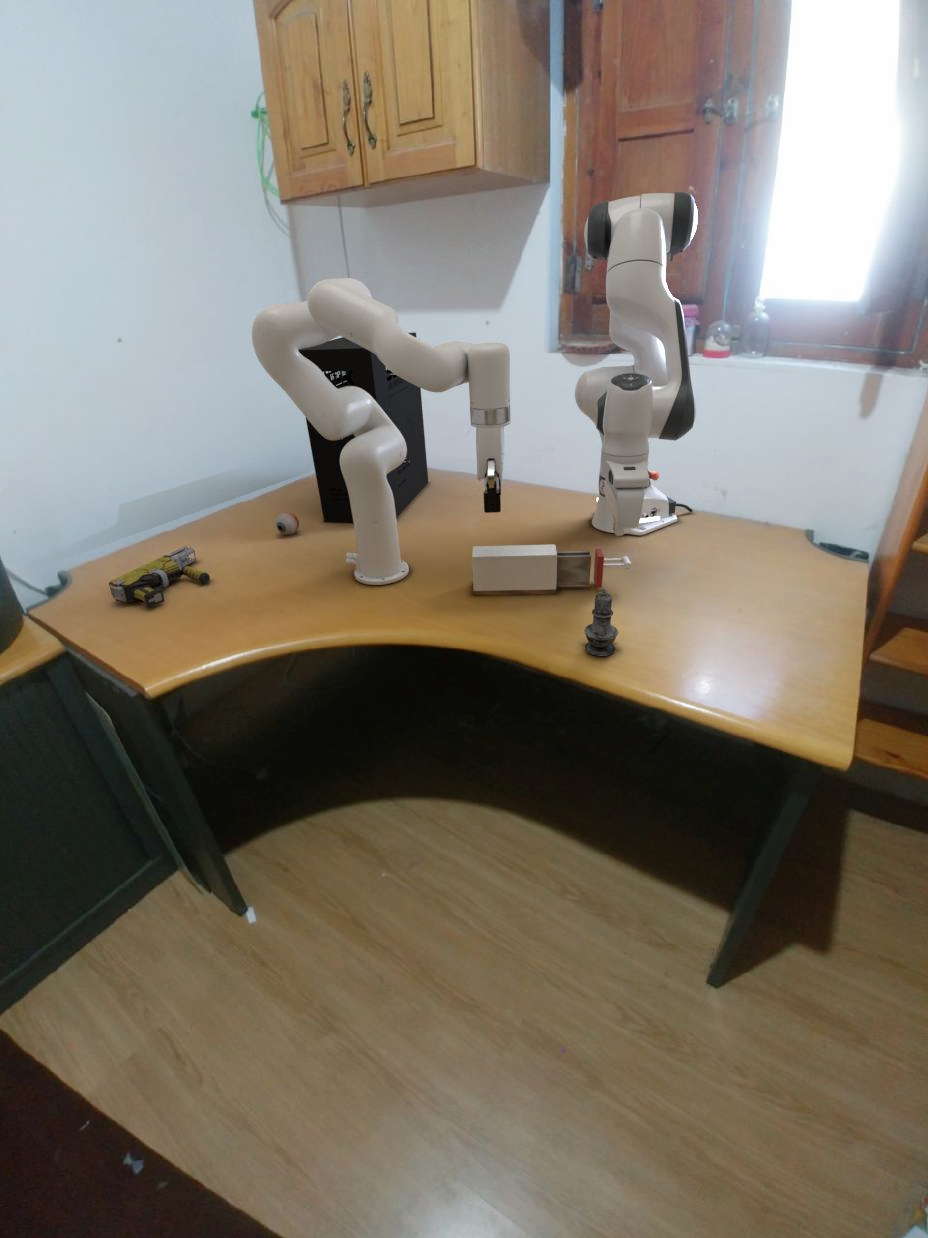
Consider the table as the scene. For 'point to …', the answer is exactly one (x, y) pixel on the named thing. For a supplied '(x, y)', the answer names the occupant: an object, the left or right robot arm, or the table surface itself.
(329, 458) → the black computer case
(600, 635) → the dark grey chess piece
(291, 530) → the eyeball
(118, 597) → the toy gun
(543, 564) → the cabinet
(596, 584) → the drawer
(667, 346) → the right robot arm
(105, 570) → the table surface
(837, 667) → the table surface
